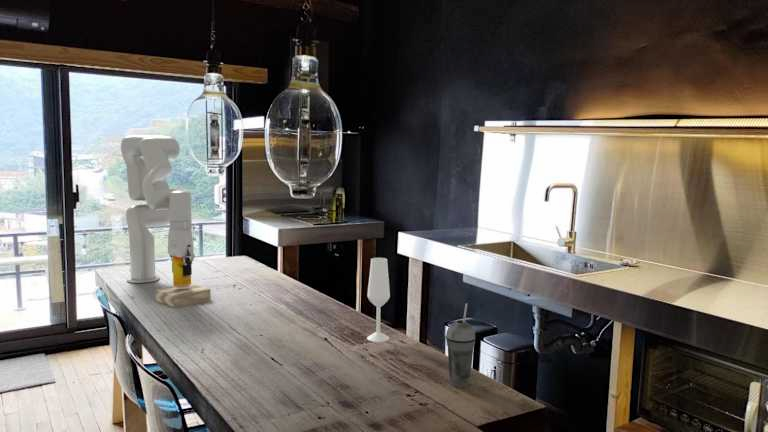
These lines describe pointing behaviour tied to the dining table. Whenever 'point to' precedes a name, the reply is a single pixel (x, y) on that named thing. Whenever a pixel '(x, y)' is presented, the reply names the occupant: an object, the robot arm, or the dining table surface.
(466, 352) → the beverage cup
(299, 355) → the dining table surface
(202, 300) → the birch plinth
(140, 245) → the robot arm
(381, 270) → the champagne flute
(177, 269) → the beer can
